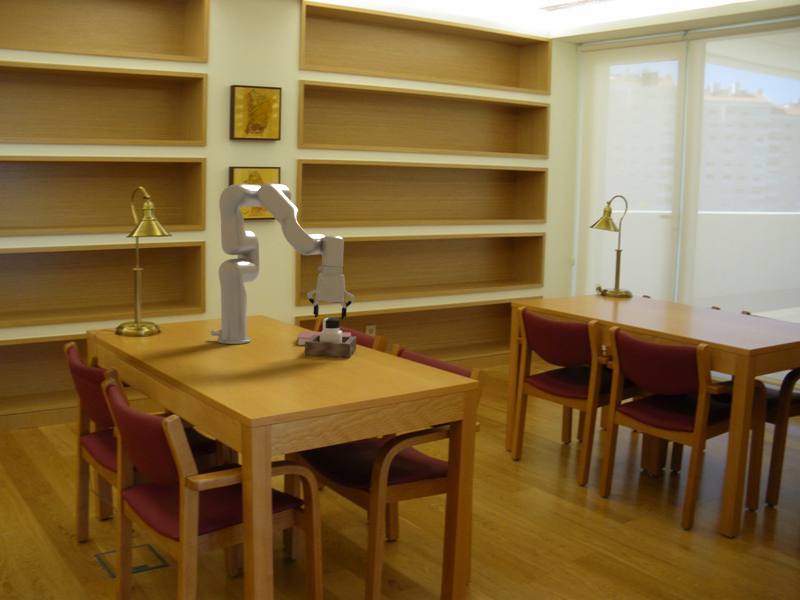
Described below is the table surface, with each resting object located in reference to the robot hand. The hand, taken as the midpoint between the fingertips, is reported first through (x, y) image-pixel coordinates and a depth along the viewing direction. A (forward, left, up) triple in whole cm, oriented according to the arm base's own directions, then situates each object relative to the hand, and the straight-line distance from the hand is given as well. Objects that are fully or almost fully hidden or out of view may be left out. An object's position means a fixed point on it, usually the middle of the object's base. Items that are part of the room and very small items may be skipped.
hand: (329, 317), depth 301 cm
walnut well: (+1, 0, -13) cm, 13 cm away
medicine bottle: (+1, 0, -12) cm, 12 cm away
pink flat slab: (-5, +20, -13) cm, 24 cm away
